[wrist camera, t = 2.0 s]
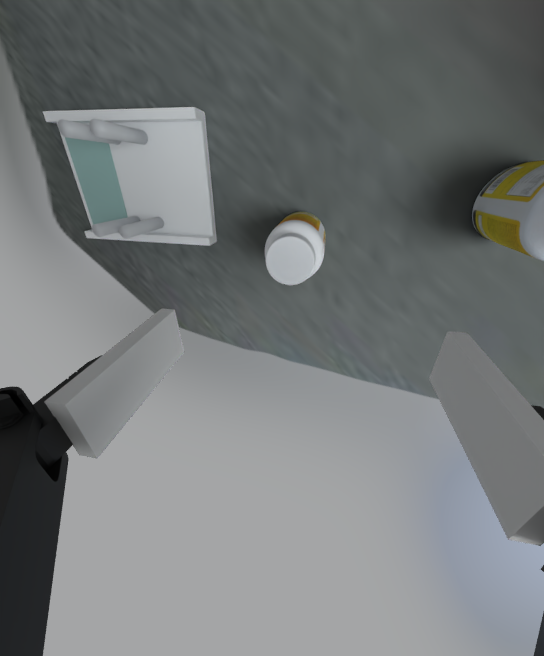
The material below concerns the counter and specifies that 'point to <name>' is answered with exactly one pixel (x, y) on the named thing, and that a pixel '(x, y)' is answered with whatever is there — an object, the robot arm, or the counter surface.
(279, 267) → the supplement bottle
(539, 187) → the pill bottle
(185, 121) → the tray
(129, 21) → the counter surface
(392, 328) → the counter surface
